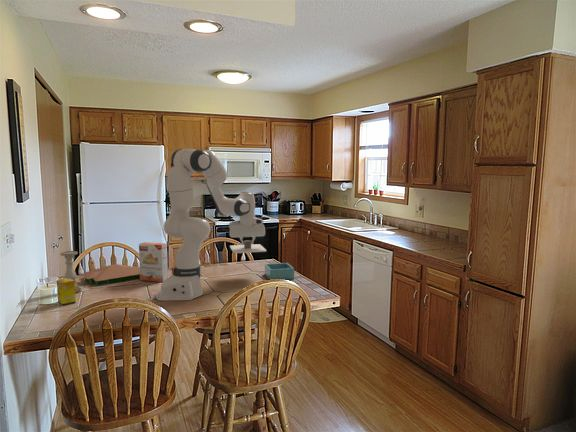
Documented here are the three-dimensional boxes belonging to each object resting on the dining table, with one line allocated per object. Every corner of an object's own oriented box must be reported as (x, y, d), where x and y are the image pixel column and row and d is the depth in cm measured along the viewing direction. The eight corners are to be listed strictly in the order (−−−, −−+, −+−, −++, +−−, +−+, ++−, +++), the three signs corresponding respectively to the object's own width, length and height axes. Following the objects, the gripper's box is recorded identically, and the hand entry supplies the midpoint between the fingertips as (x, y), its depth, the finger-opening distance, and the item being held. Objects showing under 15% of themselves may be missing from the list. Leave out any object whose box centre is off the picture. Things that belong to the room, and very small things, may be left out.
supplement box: (57, 302, 191) (56, 279, 190) (71, 300, 195) (70, 277, 194) (61, 306, 187) (60, 282, 185) (75, 303, 191) (74, 280, 189)
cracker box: (139, 280, 228) (138, 243, 226) (145, 277, 234) (144, 241, 231) (162, 282, 225) (161, 244, 223) (168, 279, 231) (167, 242, 229)
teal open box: (270, 280, 230) (270, 269, 230) (264, 274, 244) (264, 264, 243) (294, 278, 234) (294, 268, 233) (287, 272, 248) (287, 262, 247)
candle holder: (59, 291, 208) (57, 252, 206) (78, 288, 214) (76, 249, 211) (63, 295, 201) (61, 255, 199) (83, 292, 207) (80, 252, 205)
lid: (234, 253, 223) (233, 244, 223) (229, 246, 240) (229, 238, 240) (266, 251, 228) (266, 243, 227) (259, 245, 245) (259, 237, 245)
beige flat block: (79, 279, 232) (78, 264, 231) (137, 269, 254) (136, 256, 253) (90, 288, 215) (89, 273, 214) (152, 277, 236) (151, 263, 235)
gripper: (229, 221, 226) (230, 246, 228) (266, 220, 232) (266, 244, 234) (228, 220, 232) (228, 244, 234) (263, 219, 238) (263, 242, 240)
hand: (247, 244), depth 234 cm, fingers closed on lid, 3 cm apart
